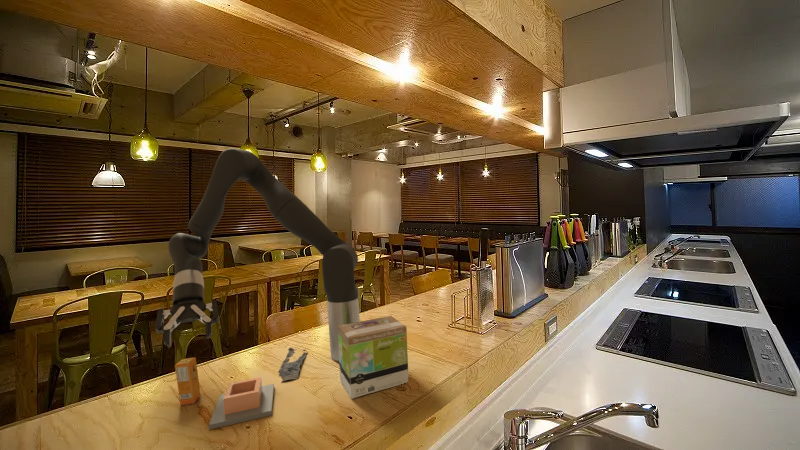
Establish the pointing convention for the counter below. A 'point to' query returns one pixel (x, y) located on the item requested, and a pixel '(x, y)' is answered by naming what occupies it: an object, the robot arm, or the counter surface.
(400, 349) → the tea box
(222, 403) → the slate board
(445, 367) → the counter surface
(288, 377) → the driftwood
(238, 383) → the terracotta holder
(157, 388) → the counter surface
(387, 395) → the counter surface
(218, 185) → the robot arm
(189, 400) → the supplement box
